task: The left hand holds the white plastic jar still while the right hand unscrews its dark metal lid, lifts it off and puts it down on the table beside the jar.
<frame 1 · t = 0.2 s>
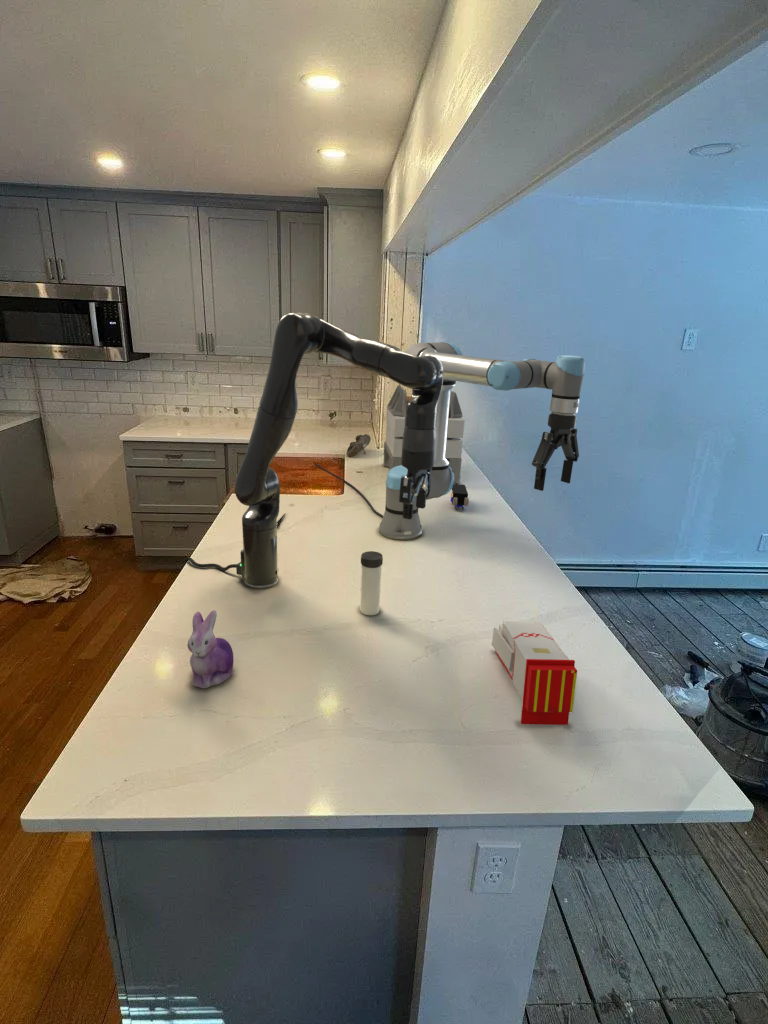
left hand: (414, 513, 135), 29 cm above the counter, tool pointing down, fingers open, 8 cm apart
right hand: (552, 485, 166), 28 cm above the counter, tool pointing down, fingers open, 13 cm apart
lid: (371, 556, 143), point 15 cm above the counter, screwed on, not yet turned
figurine: (212, 676, 120), on the counter
figurine character: (458, 506, 231), on the counter
white wooden crate: (419, 473, 275), on the counter
jar: (369, 610, 149), on the counter
fossil: (358, 453, 307), on the counter
feather: (283, 517, 211), on the counter
toy: (525, 682, 123), on the counter
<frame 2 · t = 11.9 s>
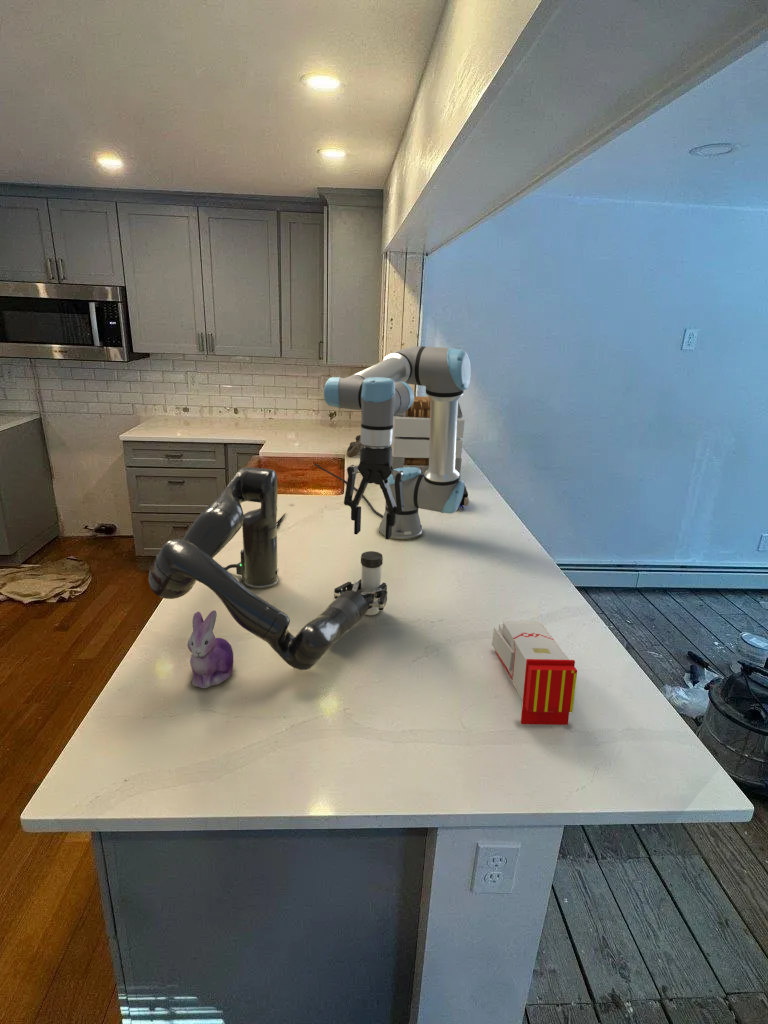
left hand: (375, 583, 149), 7 cm above the counter, tool horizontal, fingers closed on jar, 5 cm apart
right hand: (372, 534, 141), 21 cm above the counter, tool pointing down, fingers open, 7 cm apart
jar: (369, 610, 149), on the counter, touching left hand
everything else where it was.
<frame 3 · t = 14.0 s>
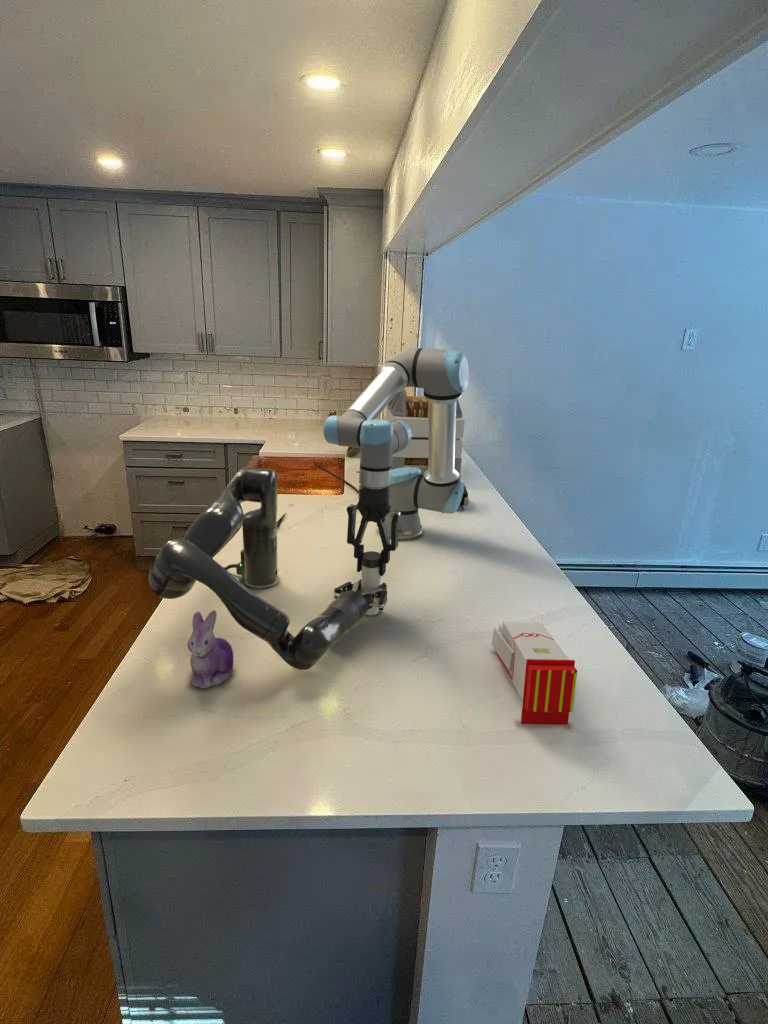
left hand: (375, 583, 149), 7 cm above the counter, tool horizontal, fingers closed on jar, 5 cm apart
right hand: (371, 571, 145), 11 cm above the counter, tool pointing down, fingers closed on lid, 5 cm apart
lid: (371, 556, 143), point 15 cm above the counter, screwed on, not yet turned, touching right hand
jar: (369, 610, 149), on the counter, touching left hand
everything else where it was.
when the right hand's fingers open (12 cm above the counter, at t = 15.5 s): lid stays where it is, point 16 cm above the counter.
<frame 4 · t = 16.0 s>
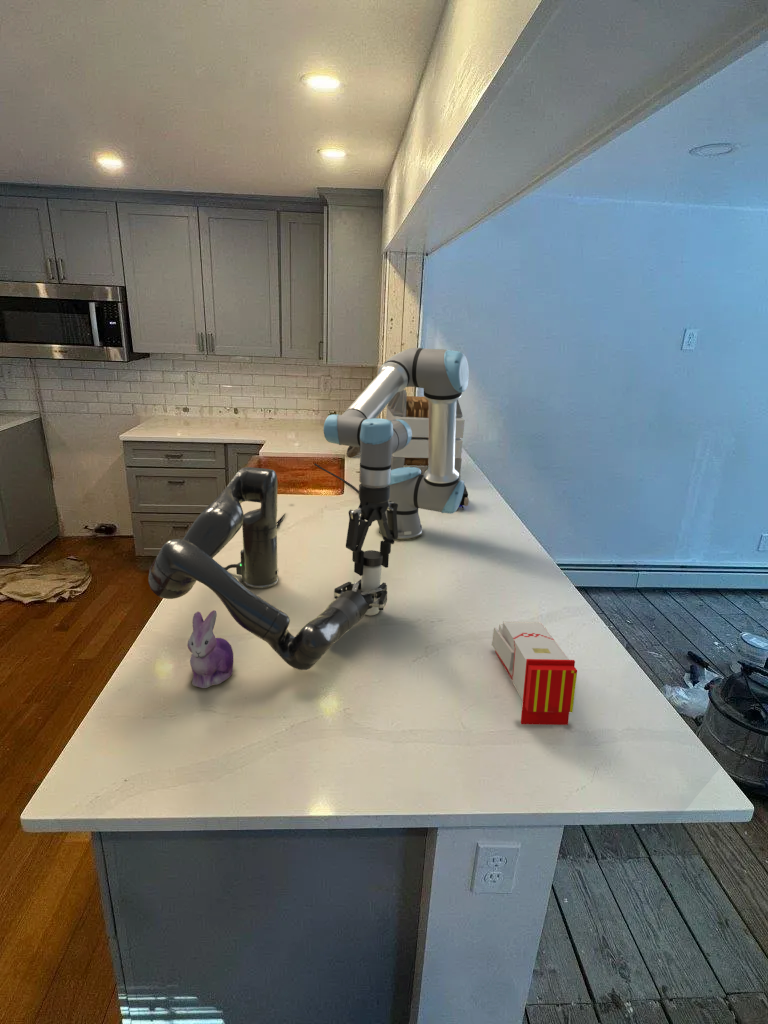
left hand: (375, 583, 149), 7 cm above the counter, tool horizontal, fingers closed on jar, 5 cm apart
right hand: (371, 569, 145), 12 cm above the counter, tool pointing down, fingers open, 7 cm apart
lid: (371, 555, 143), point 16 cm above the counter, turned 99° so far, risen 0.3 cm, still on its thread
jar: (369, 610, 149), on the counter, touching left hand
everything else where it was.
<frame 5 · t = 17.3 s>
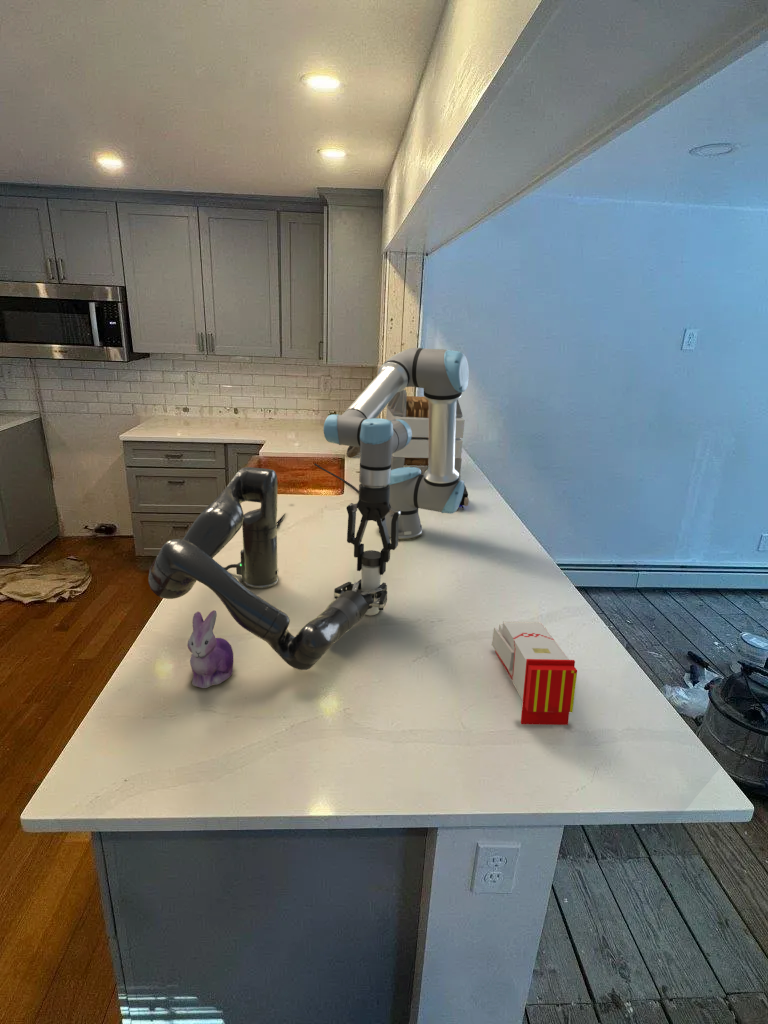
left hand: (375, 583, 149), 7 cm above the counter, tool horizontal, fingers closed on jar, 5 cm apart
right hand: (371, 570, 145), 12 cm above the counter, tool pointing down, fingers closed on lid, 5 cm apart
lid: (371, 555, 143), point 16 cm above the counter, turned 99° so far, risen 0.3 cm, still on its thread, touching right hand
jar: (369, 610, 149), on the counter, touching left hand
everything else where it was.
when the right hand's fingers open (0 cm above the counter, at t = 23.7 s): lid drops 2 cm, point 2 cm above the counter.
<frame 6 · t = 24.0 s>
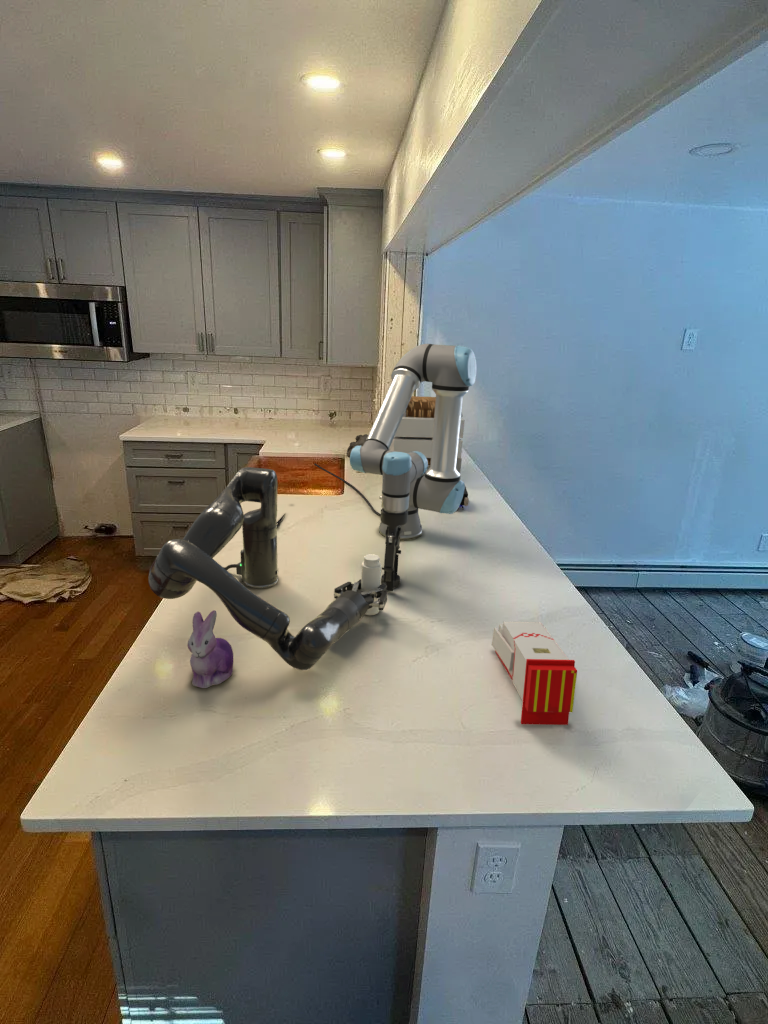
left hand: (374, 583, 149), 7 cm above the counter, tool horizontal, fingers closed on jar, 5 cm apart
right hand: (390, 582, 163), 1 cm above the counter, tool pointing down, fingers open, 9 cm apart
lid: (390, 578, 163), point 2 cm above the counter, off its thread
jar: (369, 610, 149), on the counter, touching left hand
everything else where it was.
when the left hand's fingers open (7 cm above the counter, at t = 24.9 s): jar stays where it is, on the counter.
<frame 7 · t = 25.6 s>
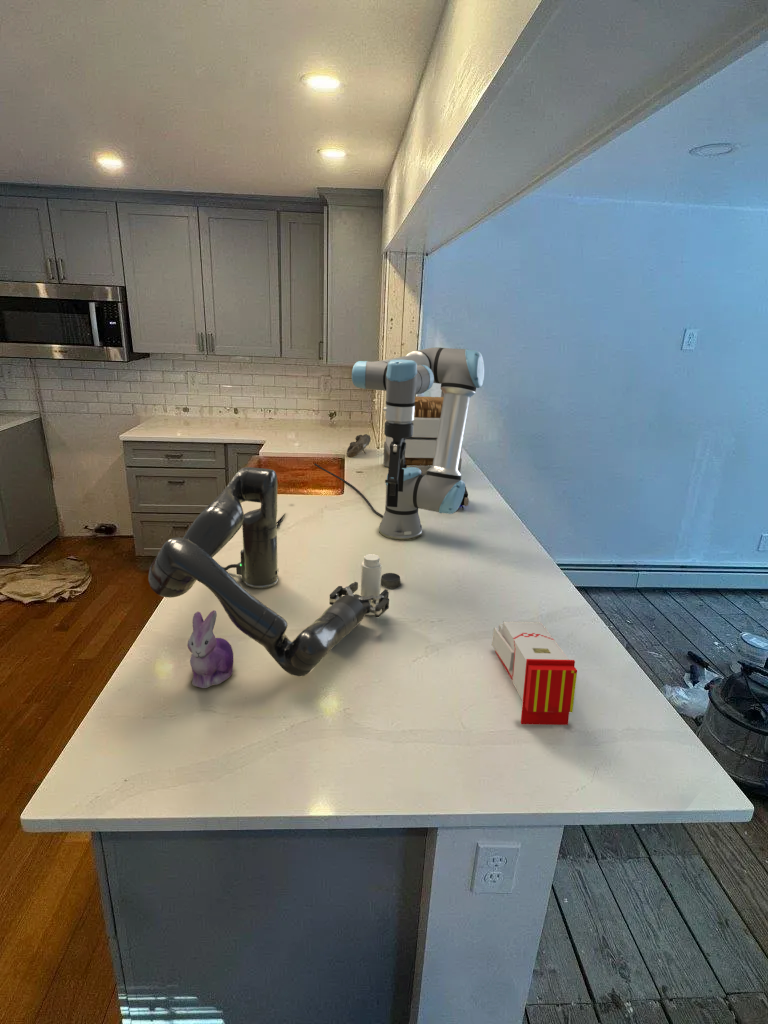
left hand: (371, 588, 147), 6 cm above the counter, tool horizontal, fingers open, 8 cm apart
right hand: (395, 498, 155), 26 cm above the counter, tool pointing down, fingers open, 13 cm apart
jar: (369, 610, 149), on the counter
everything else where it was.
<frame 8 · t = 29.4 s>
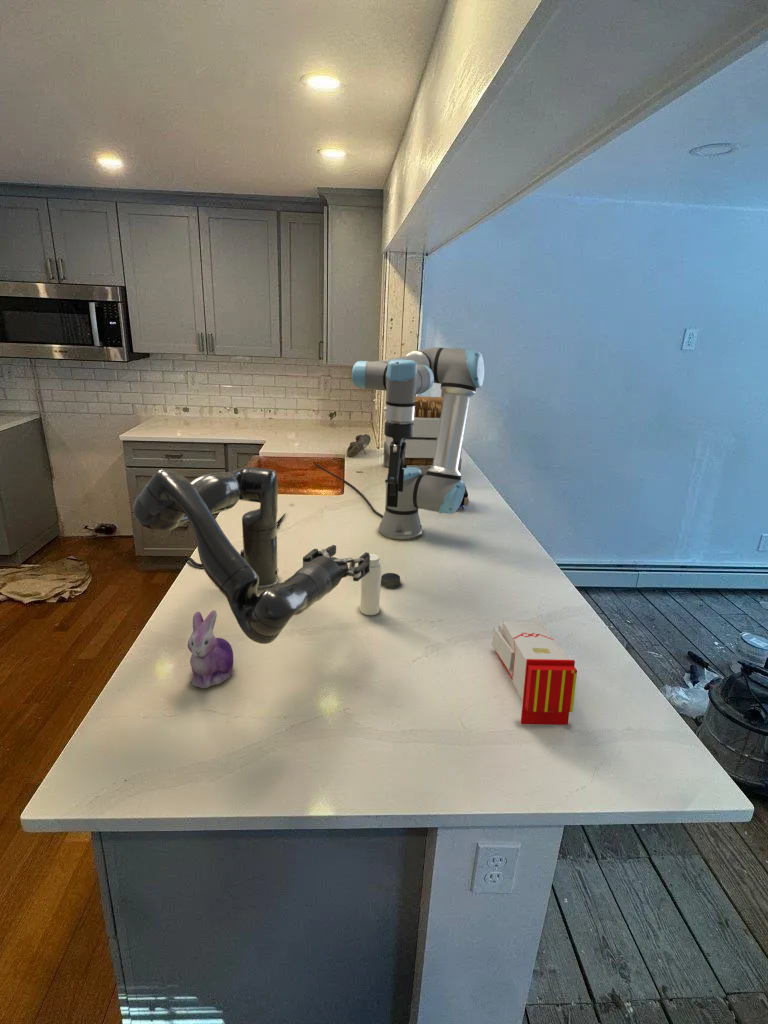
left hand: (351, 552, 131), 21 cm above the counter, tool horizontal, fingers open, 8 cm apart
right hand: (395, 498, 155), 26 cm above the counter, tool pointing down, fingers open, 13 cm apart
nothing on the counter moved.
at the end: lid came off its thread; lid point 1.8 cm above the counter; the left hand is holding nothing; the right hand is holding nothing; jar tilted 0°; jar moved 0.0 cm from its start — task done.
